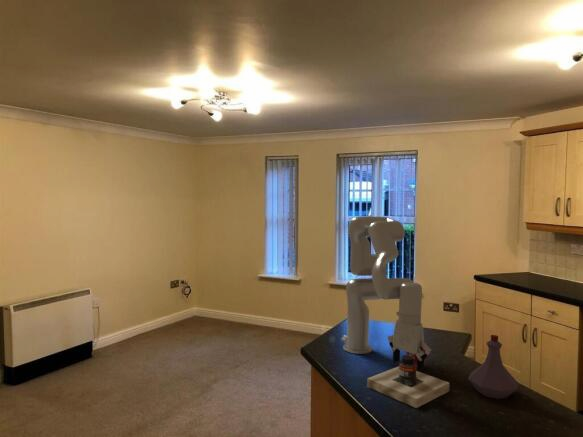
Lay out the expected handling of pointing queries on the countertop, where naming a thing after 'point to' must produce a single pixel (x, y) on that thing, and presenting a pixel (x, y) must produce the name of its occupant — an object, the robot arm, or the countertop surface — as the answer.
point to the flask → (493, 374)
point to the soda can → (416, 356)
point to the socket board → (412, 396)
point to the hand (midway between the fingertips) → (407, 366)
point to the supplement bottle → (407, 371)
